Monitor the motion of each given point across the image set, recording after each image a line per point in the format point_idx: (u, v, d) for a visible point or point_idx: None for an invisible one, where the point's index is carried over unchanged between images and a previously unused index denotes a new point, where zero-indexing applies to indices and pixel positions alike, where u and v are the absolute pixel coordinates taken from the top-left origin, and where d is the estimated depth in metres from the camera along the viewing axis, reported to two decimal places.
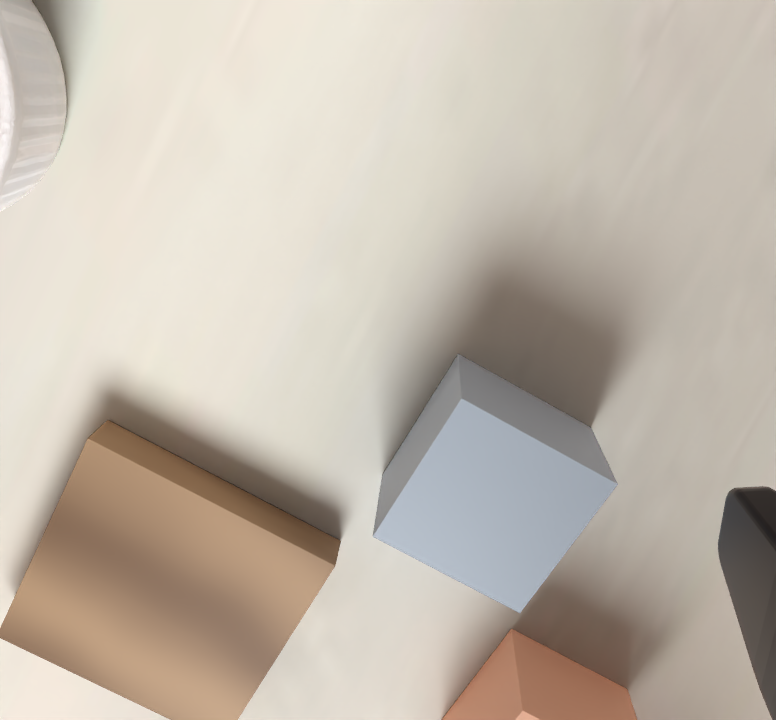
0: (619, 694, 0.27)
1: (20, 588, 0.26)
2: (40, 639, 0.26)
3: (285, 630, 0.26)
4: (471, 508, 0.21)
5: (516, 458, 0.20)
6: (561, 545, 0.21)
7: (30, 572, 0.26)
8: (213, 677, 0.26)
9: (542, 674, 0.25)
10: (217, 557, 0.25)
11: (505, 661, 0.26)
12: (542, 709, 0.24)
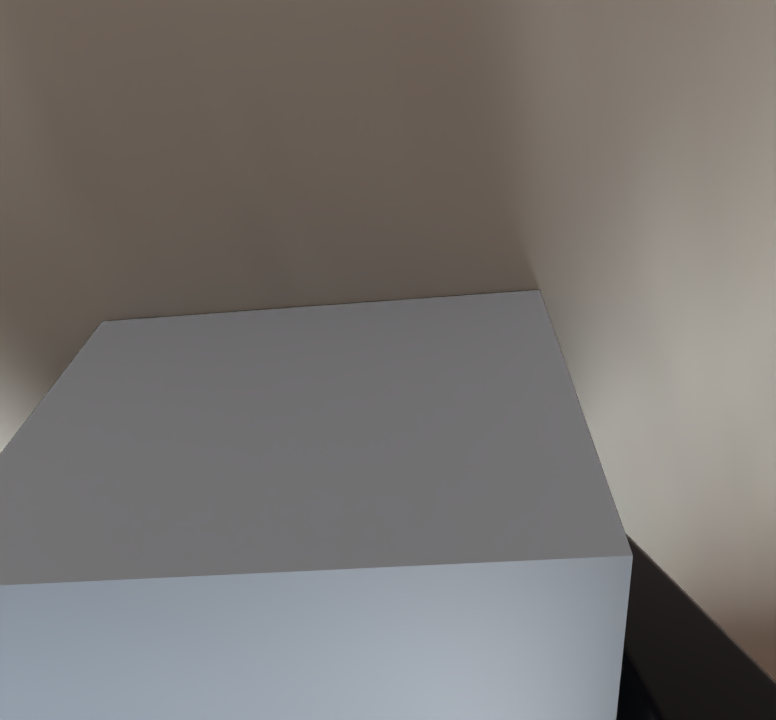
0: None
1: None
2: None
3: None
4: None
5: (232, 651, 0.05)
6: None
7: None
8: None
9: None
10: None
11: None
12: None
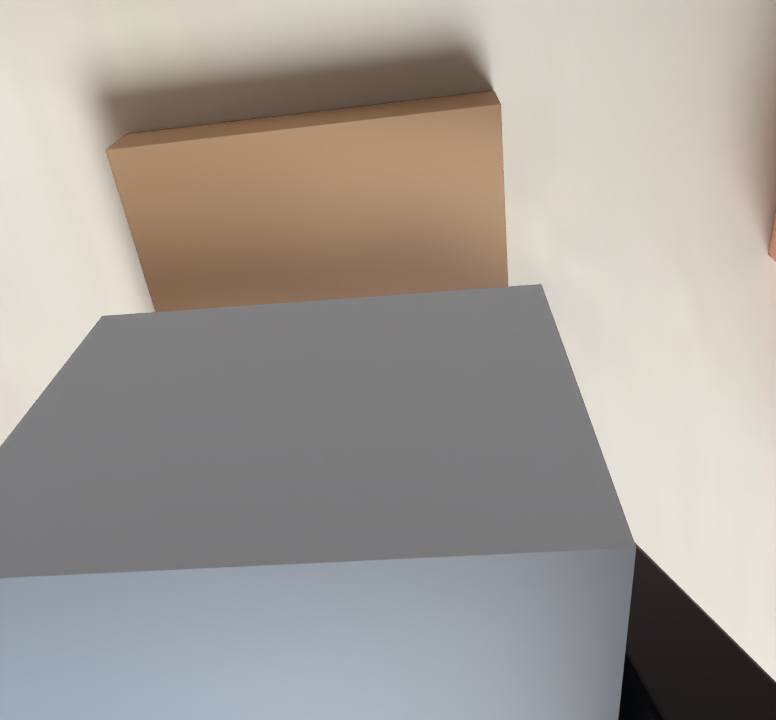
0: None
1: None
2: None
3: (495, 242, 0.18)
4: None
5: (233, 644, 0.05)
6: None
7: None
8: None
9: None
10: (353, 200, 0.17)
11: None
12: None
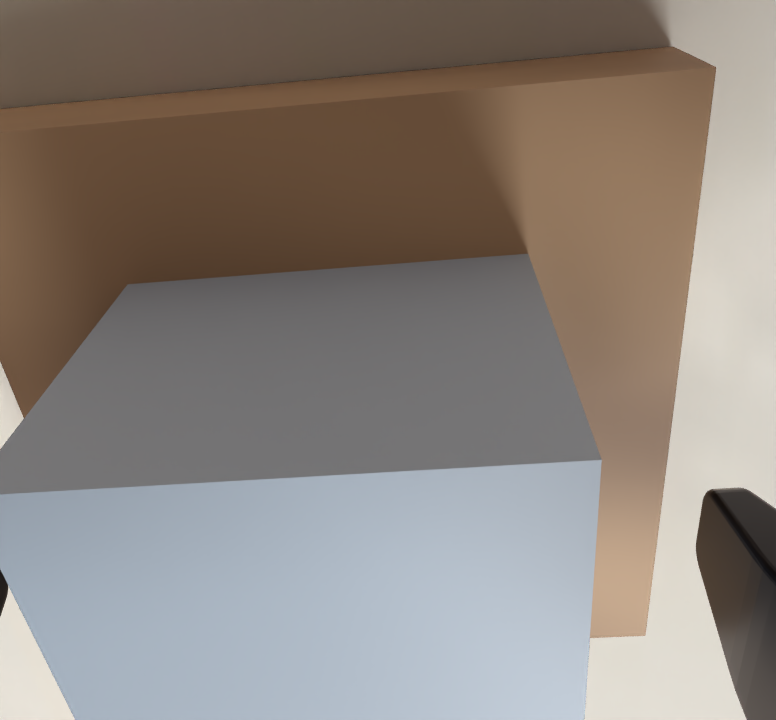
0: None
1: None
2: None
3: (662, 333, 0.10)
4: (265, 701, 0.07)
5: (256, 552, 0.06)
6: (560, 672, 0.07)
7: None
8: None
9: None
10: (399, 250, 0.09)
11: None
12: None
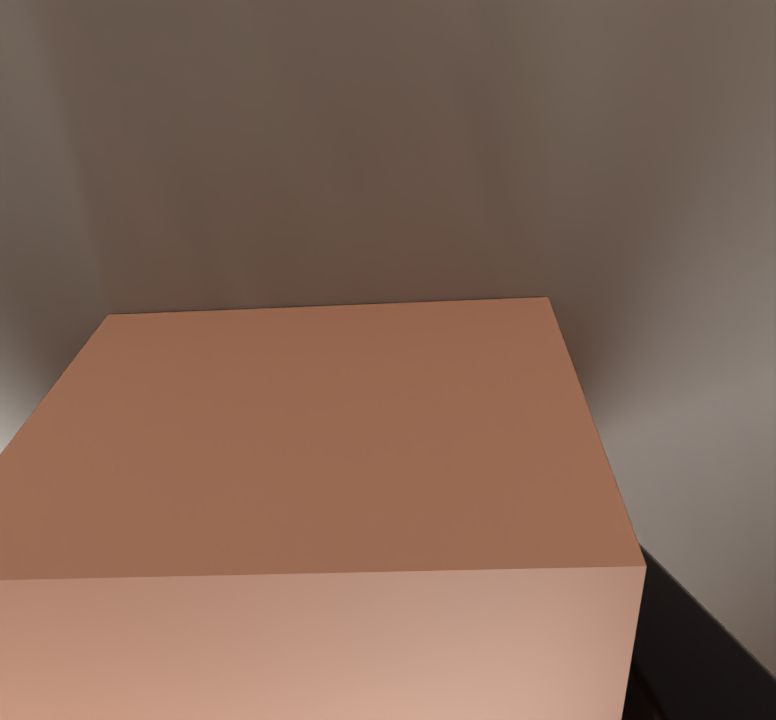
0: (510, 329, 0.08)
1: None
2: None
3: None
4: None
5: None
6: None
7: None
8: None
9: (155, 395, 0.07)
10: None
11: None
12: (49, 527, 0.05)
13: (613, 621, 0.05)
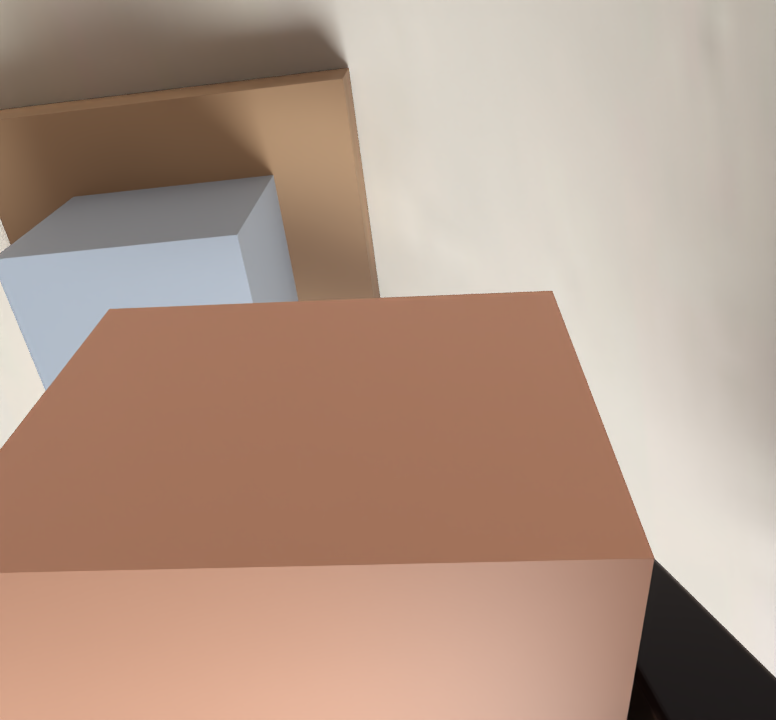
0: (514, 322, 0.08)
1: None
2: None
3: (351, 217, 0.18)
4: None
5: (110, 284, 0.15)
6: None
7: None
8: None
9: (157, 390, 0.07)
10: (208, 175, 0.18)
11: None
12: (51, 522, 0.05)
13: (620, 614, 0.05)
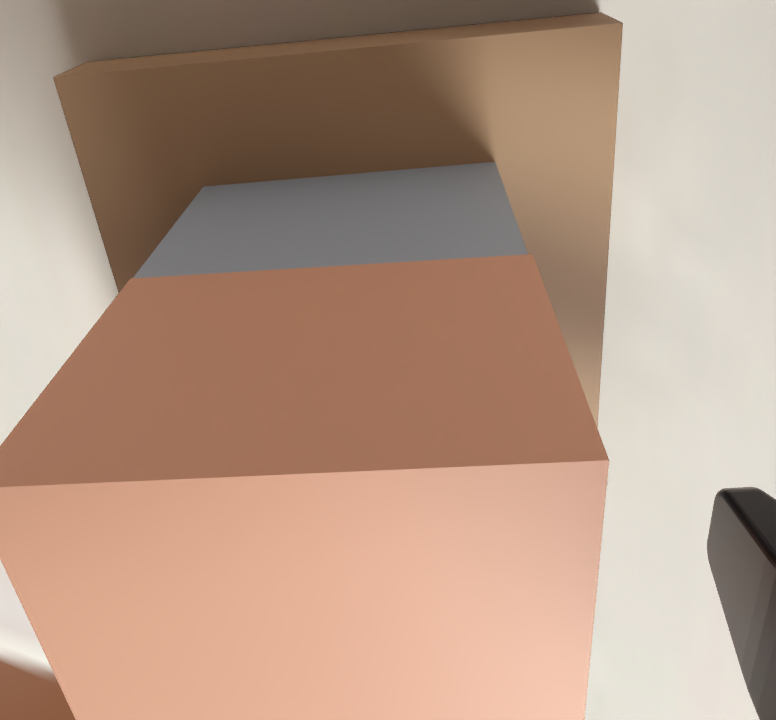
0: (497, 280, 0.08)
1: None
2: None
3: (595, 224, 0.13)
4: None
5: None
6: None
7: None
8: None
9: (178, 342, 0.08)
10: (401, 159, 0.12)
11: None
12: (90, 445, 0.06)
13: (582, 513, 0.06)
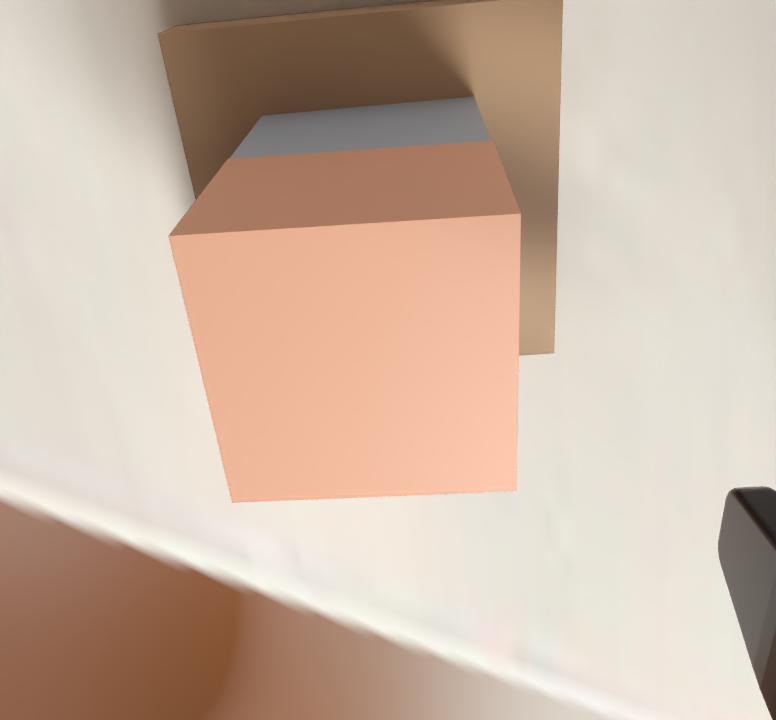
0: (468, 152, 0.13)
1: None
2: None
3: (548, 143, 0.18)
4: None
5: None
6: None
7: None
8: None
9: (269, 183, 0.12)
10: (406, 95, 0.17)
11: None
12: (231, 220, 0.11)
13: (508, 249, 0.11)
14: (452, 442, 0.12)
